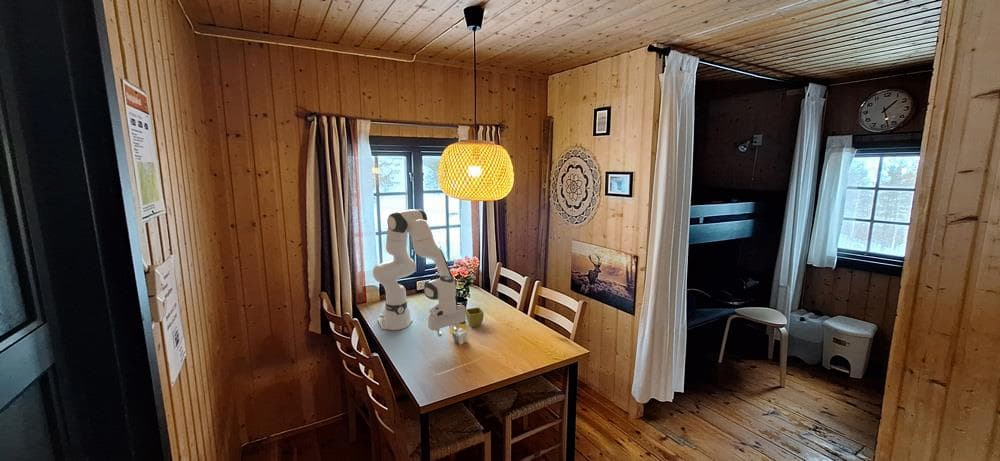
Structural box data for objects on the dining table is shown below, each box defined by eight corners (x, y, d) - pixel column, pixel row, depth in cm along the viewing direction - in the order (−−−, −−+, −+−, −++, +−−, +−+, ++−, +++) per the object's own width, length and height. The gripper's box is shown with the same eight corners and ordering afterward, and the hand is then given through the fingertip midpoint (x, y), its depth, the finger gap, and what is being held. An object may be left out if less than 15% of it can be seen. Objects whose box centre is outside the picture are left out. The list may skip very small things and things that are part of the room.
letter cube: (452, 332, 207) (460, 327, 210) (454, 341, 208) (462, 336, 211) (457, 336, 202) (466, 331, 205) (459, 345, 204) (468, 340, 207)
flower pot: (484, 327, 227) (484, 312, 225) (469, 329, 224) (469, 314, 222) (479, 321, 235) (479, 307, 233) (465, 323, 232) (465, 309, 230)
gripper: (461, 301, 208) (461, 326, 210) (426, 310, 196) (427, 336, 198) (468, 305, 203) (468, 330, 205) (432, 314, 191) (432, 341, 193)
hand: (447, 333), depth 202 cm, fingers open, 8 cm apart
